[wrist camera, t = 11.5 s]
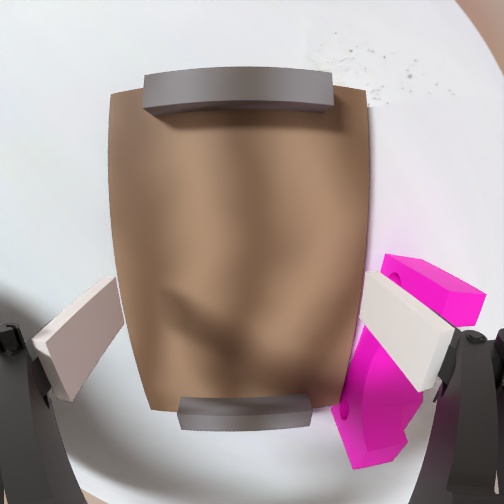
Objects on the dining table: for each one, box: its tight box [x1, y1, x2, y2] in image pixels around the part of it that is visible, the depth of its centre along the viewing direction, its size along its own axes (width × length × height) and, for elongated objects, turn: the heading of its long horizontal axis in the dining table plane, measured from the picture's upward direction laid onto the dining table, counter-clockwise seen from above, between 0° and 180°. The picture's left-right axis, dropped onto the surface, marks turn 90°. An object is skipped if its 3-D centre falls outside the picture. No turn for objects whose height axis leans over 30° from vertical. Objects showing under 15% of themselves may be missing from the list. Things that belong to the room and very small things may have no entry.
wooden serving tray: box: [108, 67, 369, 431], centre depth 16 cm, size 16×24×3 cm, turn 1°
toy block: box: [331, 254, 486, 470], centre depth 17 cm, size 15×6×8 cm, turn 172°
